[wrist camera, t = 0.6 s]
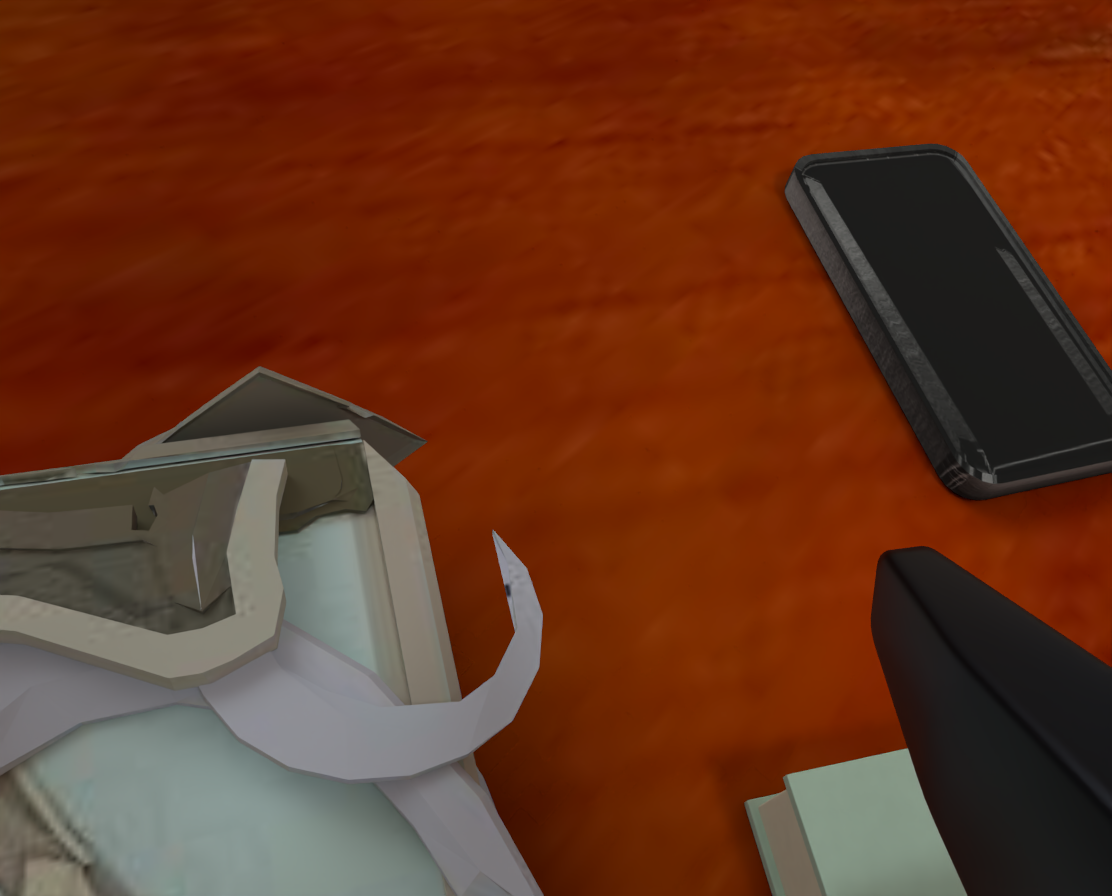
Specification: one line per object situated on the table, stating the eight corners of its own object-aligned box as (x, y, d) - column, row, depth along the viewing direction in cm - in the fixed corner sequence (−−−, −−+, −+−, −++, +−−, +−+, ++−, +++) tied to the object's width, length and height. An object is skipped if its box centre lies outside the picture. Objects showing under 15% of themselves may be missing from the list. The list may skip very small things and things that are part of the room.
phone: (972, 489, 29) (785, 156, 36) (954, 506, 30) (775, 178, 37) (1168, 448, 32) (956, 140, 39) (1145, 465, 32) (942, 162, 40)
